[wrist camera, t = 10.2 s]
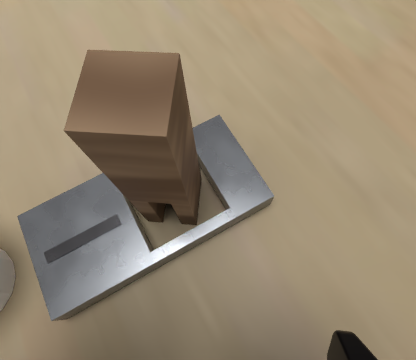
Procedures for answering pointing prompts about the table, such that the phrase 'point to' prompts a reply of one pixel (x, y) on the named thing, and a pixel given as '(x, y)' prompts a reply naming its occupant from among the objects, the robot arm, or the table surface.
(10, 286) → the white cup
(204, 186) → the table surface
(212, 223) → the metal plate with hole
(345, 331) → the robot arm
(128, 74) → the brown block
